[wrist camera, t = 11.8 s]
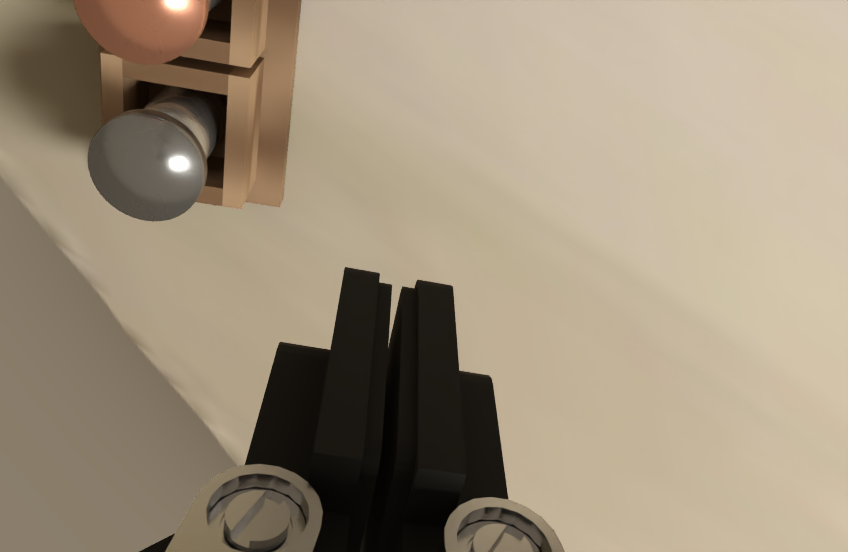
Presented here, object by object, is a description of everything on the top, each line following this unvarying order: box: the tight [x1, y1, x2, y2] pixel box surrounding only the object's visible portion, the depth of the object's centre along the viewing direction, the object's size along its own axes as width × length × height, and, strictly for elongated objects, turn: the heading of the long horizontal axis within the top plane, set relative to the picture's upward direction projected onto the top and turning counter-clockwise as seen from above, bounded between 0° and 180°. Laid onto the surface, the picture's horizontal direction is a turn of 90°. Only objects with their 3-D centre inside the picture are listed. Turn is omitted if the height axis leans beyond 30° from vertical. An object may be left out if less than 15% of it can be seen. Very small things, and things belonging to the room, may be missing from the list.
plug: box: [88, 85, 227, 221], centre depth 37 cm, size 5×5×8 cm
